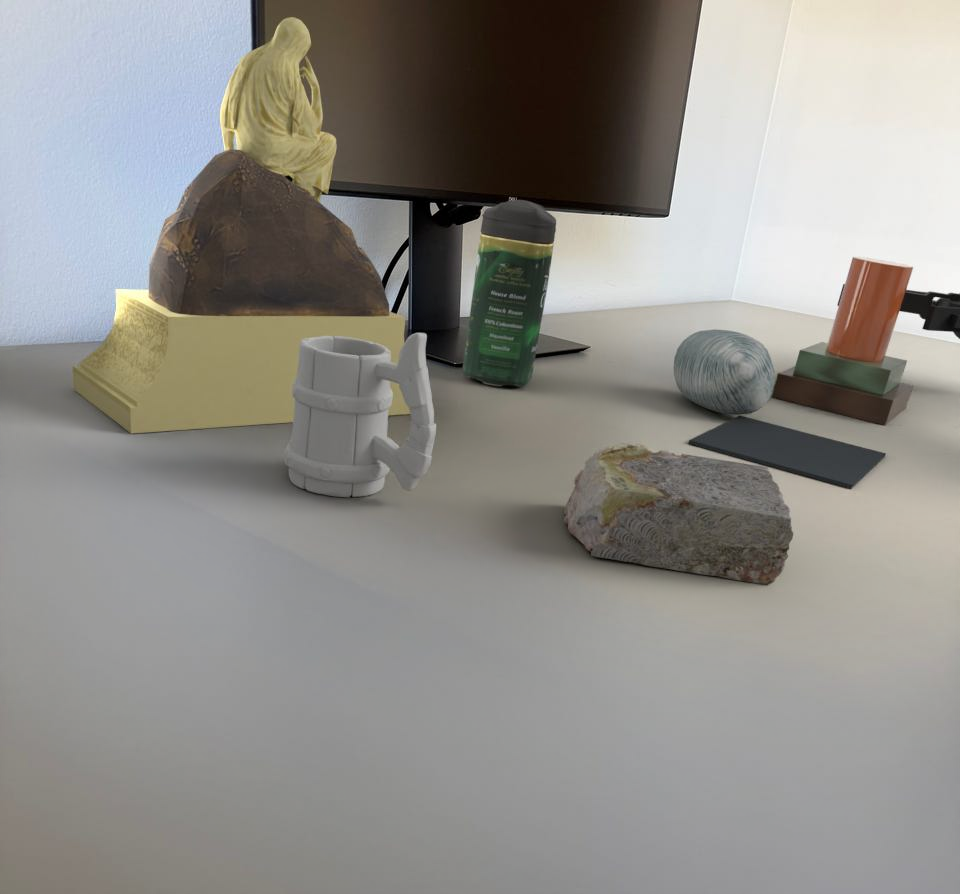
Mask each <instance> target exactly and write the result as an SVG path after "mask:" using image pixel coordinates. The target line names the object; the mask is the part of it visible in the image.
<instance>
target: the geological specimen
mask: <svg viewBox="0 0 960 894" xmlns="http://www.w3.org/2000/svg"><path fill="white" fill-rule="evenodd" d="M768 467H769V466H764V465H756V464H750V463H744V462H738V461H731V460H723V459H718V458H711V457H705V456H698V455H692V454H687V453H681V455H678V454H675V453H673V452H670V451H668V450H662V449H661V450H659V451H656V452H653V451H651V450H649V448H648V447H646V446H645V445H644V444H641V443H630V442H621V443H619V444H615V445H610V446H607V447H603V448H601V449H599V450H597V451H595V452H594V453H593V454H592V455H591V456H589V457H588V459H586V460H585V461H584V467H583V468H582V469H580V471H579V472H578V473H577V475H576V476H575V477H574V480H573V481H574V487H573V490H572V493H571V495H570V496H569V497H568V500H567V502H566V504H565V505H564V507H563V509H564V511H563V513H564V514H565V516H564V519H563V522H564V523H565V524H566V525H567V530H568V532H569V534H571V535H572V536H574V537H575V538H576V539H577V540H578V541H579V542H580V543H581V544H582V545H583V546H584V547H585V549H586V550H587V551H588V552H590V556H591V557H595V558H601V559H607V560H608V559H609V560H614V561H619V562H625V563H626V562H627V563H633V564H639V565H643V566H648V567H653V568H658V569H659V568H660V569H666V570H673V571H679V572H684V573H691V574H697V575H704V576H714V577H719V578H723V579H724V578H725V579H730V580H735V581H740V582H745V583H747V582H748V583H753V584H754V583H755V584H759V585H760V584H761V585H771V584H773V583H775V581H776V579H777V578H778V577H779V576H780V575H781V574H782V572H783V570H784V569H785V567H786V560H787V559H788V558H789V554H788V551H789V550H790V544H791V542H792V540H793V538H794V532H793V530H792V529H793V527H792V518H791V516H790V514H791V513H790V507H789V506H788V505H787V504H785V499H784V495H783V493H782V491H781V488H780V486H779V484H778V483H776V482H775V481H774V476H773V475H772V473H771V471H770V469H769V468H768Z"/></svg>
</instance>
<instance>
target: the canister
mask: <svg viewBox="0 0 960 894" xmlns="http://www.w3.org/2000/svg"><path fill="white" fill-rule="evenodd" d="M913 270H914V266H912V265H908V264H905V263H901V262H896V261H891V260H890V261H889V260H884V259H878V258H870V257H865V256H852V259H851V262H850V266H849V268H848V272H847V276H846V279H845V283H844V284H845V286H844V289H843V293H842V296H841V300H840V303H839V306H837V310H836V314H835V317H834V321H833V323H832V326H831V331H830V334H829V338H828V341H827V343H828V344H827V348H826V351H828V352H830V353H832V354H835V355H838V356H842V357H846V358H850V359H855V360H861V361H868V362H882V361H884V358H885V356H887V355H886V354H887V351H888V348H889V346H890V343H891V339H892V336H893V333H894V330H895V326H896V323H897V320H898V318H899V314H900V312H901V311H900V308H901V305H902V302H903V298H904V295H905V292H906V290H908V286H909V282H910V279H911V277H912V273H913Z"/></svg>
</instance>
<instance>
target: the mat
mask: <svg viewBox="0 0 960 894" xmlns="http://www.w3.org/2000/svg"><path fill="white" fill-rule="evenodd" d="M688 445H691V446H696V447H699V448H702V449H706V450H709V451H714V452H717V453H720V454H724V455H727V456H731V457H735V458H739V459H742V460H746V461H748V462H752V463H756V464H759V465H762V466H766V467H771V468H774V469H777V470H782V471H784V472H788V473H792V474H795V475H799V476H802V477H806V478H810V479H814V480H818V481H821V482H825V483H829V484H832V485H835V486H839V487H842V488H846V489H850V490H851V489H852V490H853V488H854V487H855V486H857V484H858V483H859V482H860V481H861V480H862V479H863V478H864V477H865V476H867V475H868V474H869V473H870V472H871V471H872V470H873V469H874V468H875V467H876V466H877V465H878V464H879V463H880V462H881V461H882V460H884V458H886V454H887V453H886V452H883V451H878V450H875V449H871V448H867V447H863V446H859V445H855V444H851V443H847V442H844V441H840V440H836V439H833V438H829V437H825V436H821V435H817V434H814V433H808V432H805V431H801V430H797V429H793V428H789V427H786V426H782V425H778V424H774V423H770V422H767V421H766V422H765V421H763V420H760V419H759V420H758V419H755V418H751V417H748V416H744V415H737V416H736V417H734V418H731V419H730V420H727V421H725V422H724V423H721V424H720V425H717V426H715V427H713V428H711V429H708V430H707V431H705V432H703V433H701V434H698V435H696V436H695V437H693V438H690V439H689V440H688Z"/></svg>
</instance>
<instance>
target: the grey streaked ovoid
mask: <svg viewBox="0 0 960 894" xmlns="http://www.w3.org/2000/svg"><path fill="white" fill-rule="evenodd" d="M673 376H674V380H675V383H676V386H677V389H678V390H679V391H680V392H681V394H682V395H683V396H684V397H685V398H686V399H688V400H689V401H690V402H692V403H694V404H695V405H697V406H700V407H702V408H704V409H707V410H710V411H712V412H716V413H721V414H725V415H735V416H736V415H737V416H744V415H750V414H753V413H755V412H757V411H759V410H761V409H762V408H763V407H764V406H765V405H766V404H767V403H768V402H769V400H770V399H771V398H772V393H773V389H774V385H775V368H774V363H773V361H772V358H771V355H770V353H769V350H768V349H767V348H766V347H765V345H764V344H763V343H762V342H761V341H759V340H758V339H755V338H754V337H753V336H750V335H747V334H745V333H743V332H739V331H733V330H727V329H716V328H715V329H706V330H700V331H697V332H694V333H692V334H690V335H689V336H687V337H686V338H684V339H683V341H682V342H681V343H680V345H678V347H677V349H676V352H675V354H674V358H673Z"/></svg>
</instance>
